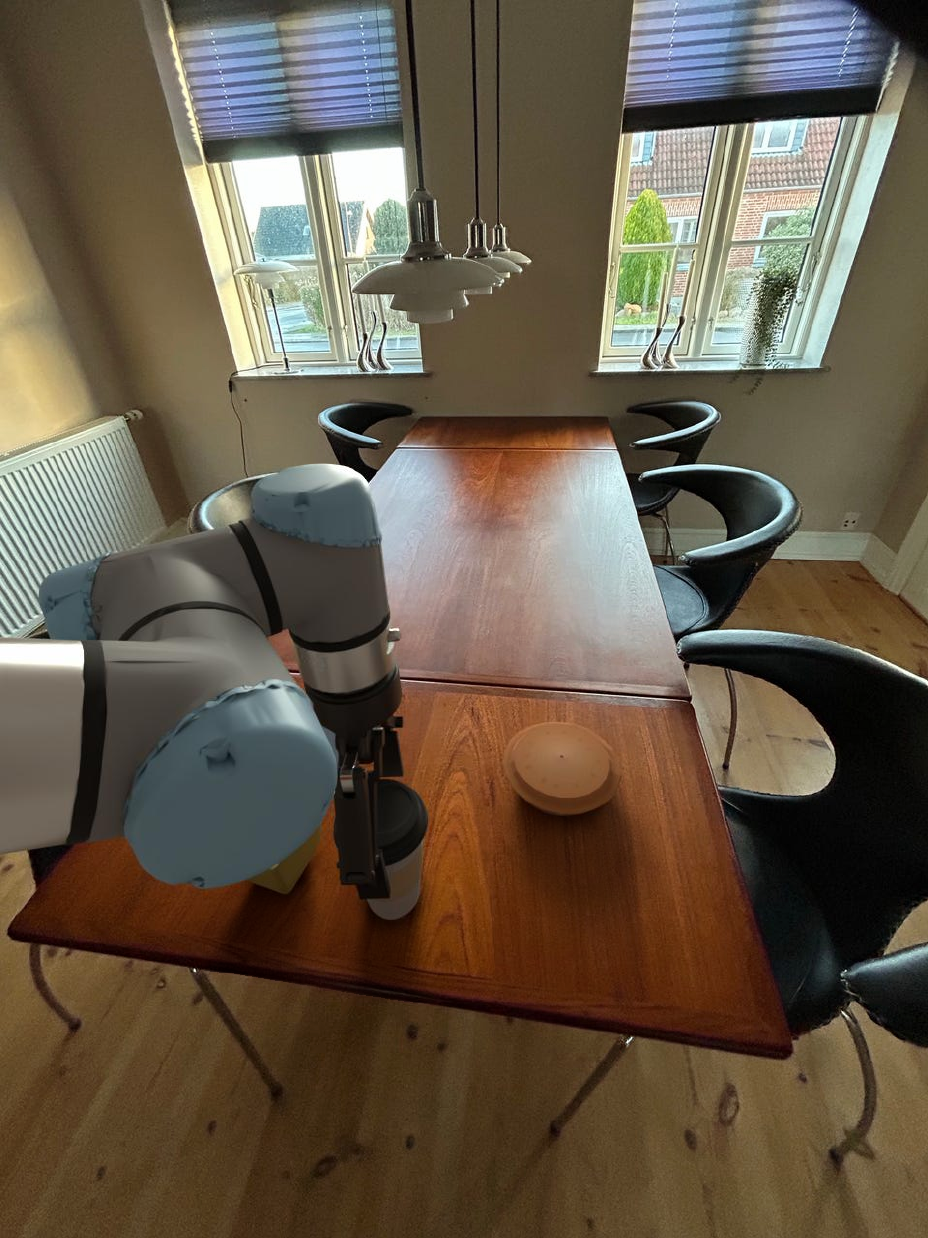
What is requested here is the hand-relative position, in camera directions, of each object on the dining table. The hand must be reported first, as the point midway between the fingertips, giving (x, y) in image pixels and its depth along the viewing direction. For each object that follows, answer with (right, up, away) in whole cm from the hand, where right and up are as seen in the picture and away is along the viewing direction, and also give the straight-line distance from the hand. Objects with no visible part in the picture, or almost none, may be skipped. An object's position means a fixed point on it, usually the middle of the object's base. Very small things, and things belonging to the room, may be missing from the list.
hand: (384, 828), depth 54 cm
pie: (+21, -1, +19) cm, 28 cm away
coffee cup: (0, -10, +7) cm, 12 cm away
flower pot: (-14, -9, +10) cm, 19 cm away
